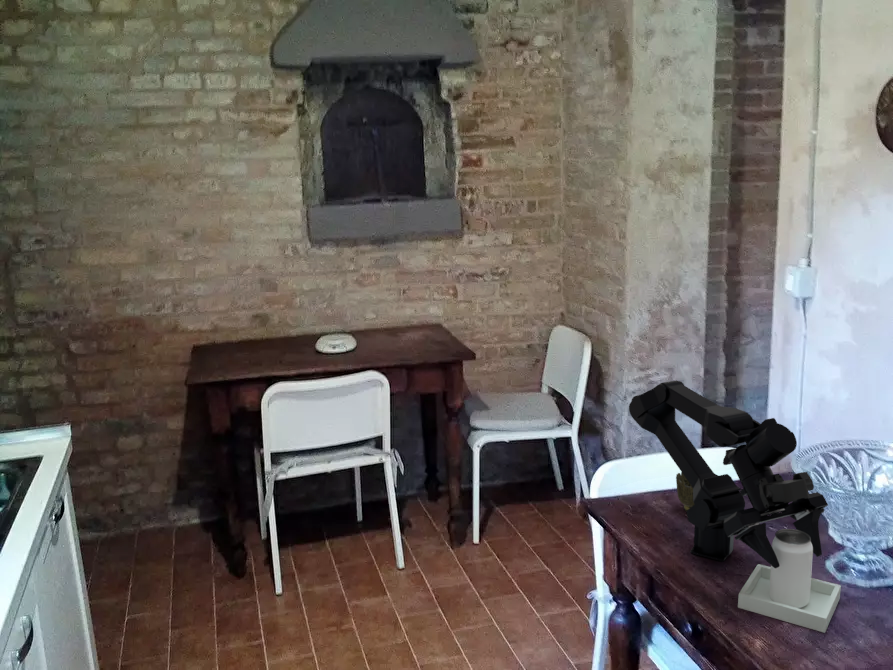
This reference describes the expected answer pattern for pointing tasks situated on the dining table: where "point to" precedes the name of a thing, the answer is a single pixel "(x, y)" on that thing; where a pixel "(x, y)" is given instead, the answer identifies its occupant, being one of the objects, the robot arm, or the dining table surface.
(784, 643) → the dining table surface
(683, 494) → the olive piece
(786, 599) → the can
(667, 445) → the robot arm
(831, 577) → the dining table surface
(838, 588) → the tray
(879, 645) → the dining table surface
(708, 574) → the dining table surface
